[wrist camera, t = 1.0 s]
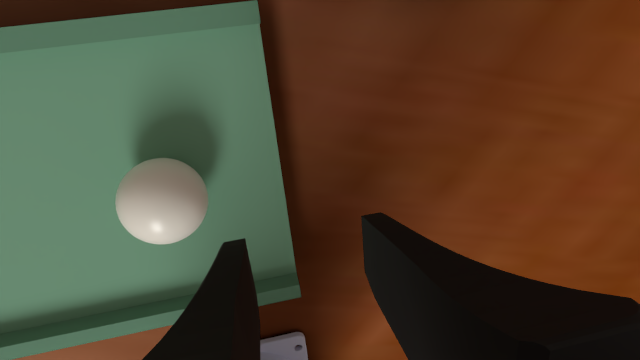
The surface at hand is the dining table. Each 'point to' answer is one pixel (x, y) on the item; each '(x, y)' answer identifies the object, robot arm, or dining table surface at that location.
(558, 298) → the robot arm
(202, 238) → the green
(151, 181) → the ball
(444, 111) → the dining table surface
